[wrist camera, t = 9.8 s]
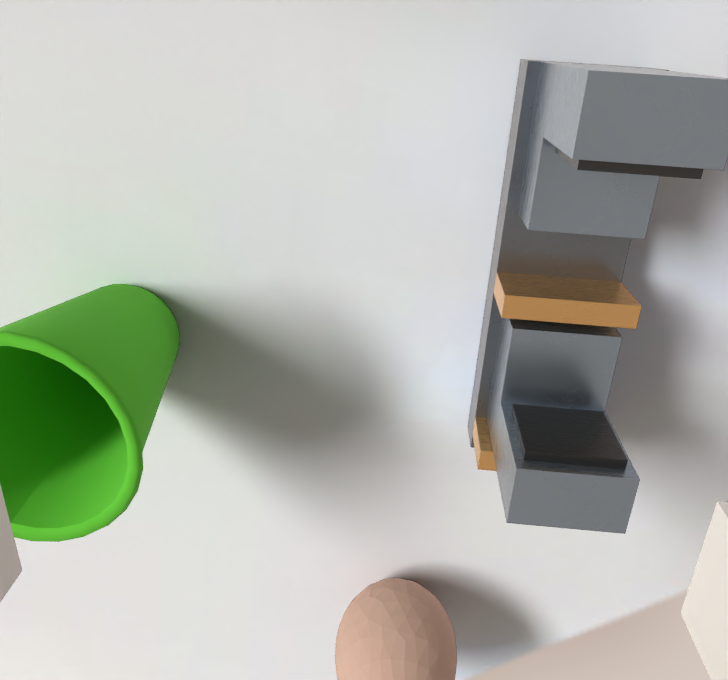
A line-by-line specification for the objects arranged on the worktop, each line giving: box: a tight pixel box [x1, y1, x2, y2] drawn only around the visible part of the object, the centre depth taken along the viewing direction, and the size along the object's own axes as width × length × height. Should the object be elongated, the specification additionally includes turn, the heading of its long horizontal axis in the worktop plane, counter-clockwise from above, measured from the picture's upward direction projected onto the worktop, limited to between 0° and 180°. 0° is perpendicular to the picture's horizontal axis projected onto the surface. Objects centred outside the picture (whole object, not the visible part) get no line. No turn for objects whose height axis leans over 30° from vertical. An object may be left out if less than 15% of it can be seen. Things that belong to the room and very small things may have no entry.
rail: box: [468, 59, 728, 471], centre depth 28 cm, size 18×6×10 cm, turn 176°
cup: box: [0, 284, 180, 542], centre depth 30 cm, size 9×9×11 cm
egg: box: [335, 578, 457, 680], centre depth 37 cm, size 7×7×9 cm
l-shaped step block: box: [486, 318, 640, 534], centre depth 28 cm, size 6×4×8 cm
